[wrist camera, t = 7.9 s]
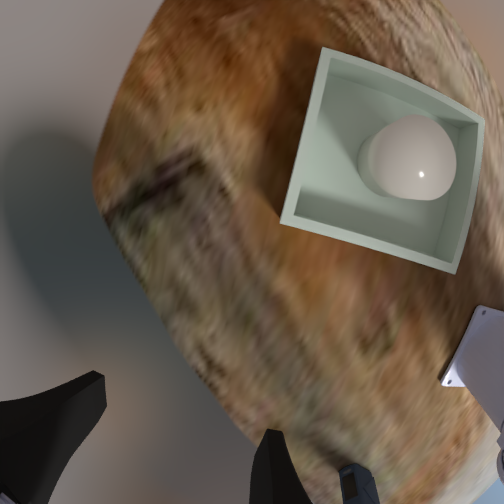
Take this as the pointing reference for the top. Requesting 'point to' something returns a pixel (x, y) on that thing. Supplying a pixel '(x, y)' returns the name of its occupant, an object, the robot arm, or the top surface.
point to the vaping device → (358, 486)
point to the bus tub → (346, 170)
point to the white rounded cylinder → (408, 160)
